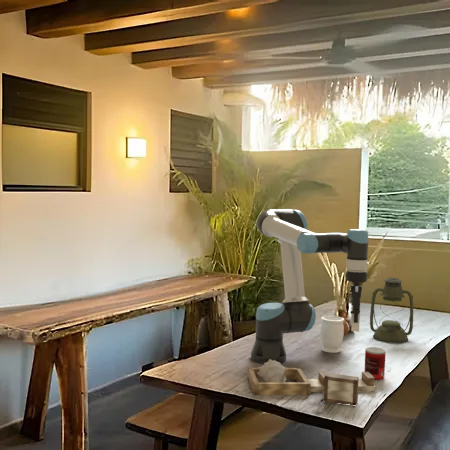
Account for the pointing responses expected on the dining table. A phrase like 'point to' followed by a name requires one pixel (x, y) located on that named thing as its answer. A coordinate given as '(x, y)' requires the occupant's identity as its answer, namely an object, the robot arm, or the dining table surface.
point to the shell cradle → (280, 383)
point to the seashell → (271, 372)
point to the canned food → (375, 362)
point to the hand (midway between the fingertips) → (354, 327)
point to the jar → (332, 333)
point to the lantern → (389, 328)
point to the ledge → (363, 385)
